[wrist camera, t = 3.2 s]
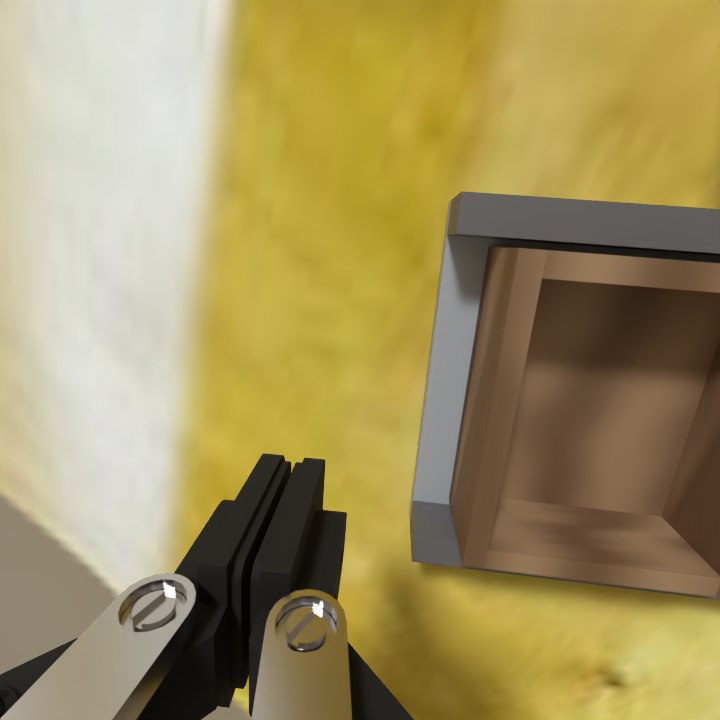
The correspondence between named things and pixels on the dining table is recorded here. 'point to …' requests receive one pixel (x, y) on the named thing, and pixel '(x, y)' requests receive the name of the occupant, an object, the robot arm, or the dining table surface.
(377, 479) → the dining table surface
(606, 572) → the box
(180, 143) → the dining table surface
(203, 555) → the robot arm
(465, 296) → the bay
